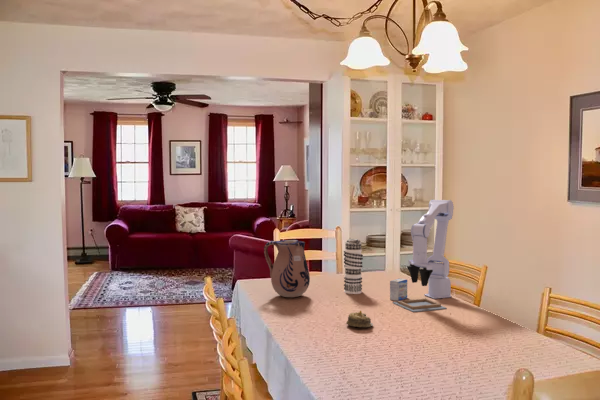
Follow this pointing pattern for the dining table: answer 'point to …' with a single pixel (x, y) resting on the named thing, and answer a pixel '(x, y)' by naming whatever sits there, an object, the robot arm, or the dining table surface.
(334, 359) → the dining table surface
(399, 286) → the medicine box
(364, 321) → the cake
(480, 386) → the dining table surface
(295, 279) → the ceramic pitcher
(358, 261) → the decorative candle
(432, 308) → the board
